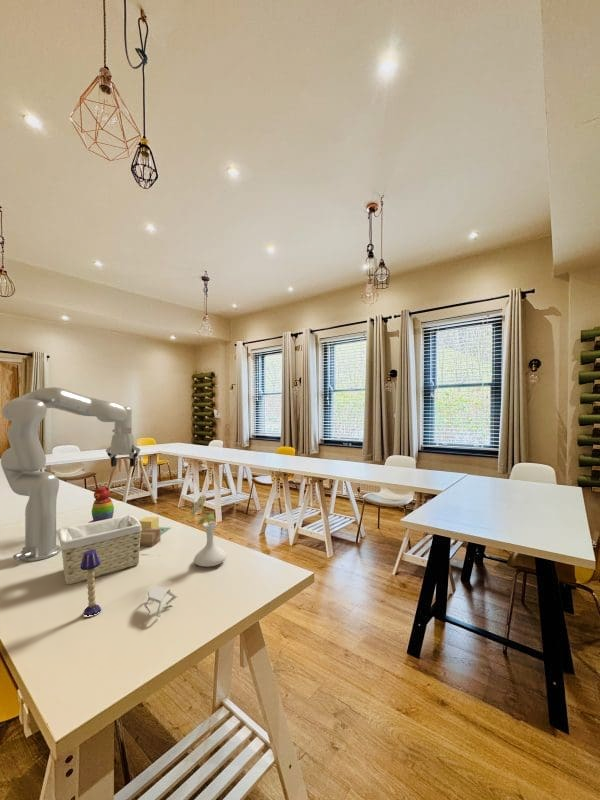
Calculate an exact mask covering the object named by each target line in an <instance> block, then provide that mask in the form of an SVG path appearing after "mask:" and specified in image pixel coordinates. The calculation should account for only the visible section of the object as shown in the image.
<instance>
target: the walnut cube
mask: <svg viewBox="0 0 600 800" xmlns="http://www.w3.org/2000/svg"><path fill="white" fill-rule="evenodd" d="M160 542H161V536H160V529H145V530H144V531H142V532H141V537H140V547H144V548H146V547H147V548H153V547H154V546H156V545H157V544H159V543H160Z"/></svg>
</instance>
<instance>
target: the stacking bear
mask: <svg viewBox="0 0 600 800" xmlns="http://www.w3.org/2000/svg"><path fill="white" fill-rule="evenodd" d="M110 496H111V490H110V488H109V487H106V486H105V487H104V486H102V487H99V486H98V487H96V490H95V491H94V493H93V497H94V499H95V500H94V501H93V504H92V508H91V517H92V520H90V521H88V522H87V523H91V522H96V521H101V520H106V519H110V518H114V512H115V506H114V502H113V500H112V499H111V498H110Z"/></svg>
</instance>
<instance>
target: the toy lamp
mask: <svg viewBox="0 0 600 800" xmlns="http://www.w3.org/2000/svg"><path fill="white" fill-rule="evenodd" d="M99 565H100V559H99V556H98V553H97V551H96V550H88V551H86V552H85V553H84V555H83V558H82V562H81V567H80V568H81V569H82V570H87V572H88V574H87V578H88V579H87V580H86V582H87V595H88V596H87V600H88V603H87V604H88V606H87V607H86V608H85V609H84V610H83V613H82V615H83V614H84V615H87V616H89V615H94V614H97V613H98V612H100V611H101V612H102V608H101V606H100V605H99V604H98V603H97V602H96V589H95V587H96V583H95V578H94V568H96V567H98V566H99ZM96 603H97V604H96ZM101 612H100V613H101ZM97 615H98V614H97Z"/></svg>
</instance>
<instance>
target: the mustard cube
mask: <svg viewBox="0 0 600 800" xmlns="http://www.w3.org/2000/svg"><path fill="white" fill-rule="evenodd" d="M138 521H139V522H140V524H141V528H142V530H141V532H142V531H144V530H145V529H159V522H160V521H159V516H145V517H143V518H141V519H140V520H138Z"/></svg>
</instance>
